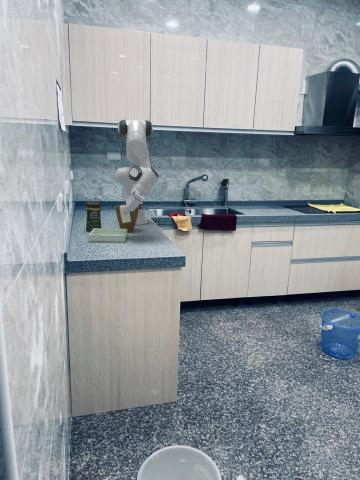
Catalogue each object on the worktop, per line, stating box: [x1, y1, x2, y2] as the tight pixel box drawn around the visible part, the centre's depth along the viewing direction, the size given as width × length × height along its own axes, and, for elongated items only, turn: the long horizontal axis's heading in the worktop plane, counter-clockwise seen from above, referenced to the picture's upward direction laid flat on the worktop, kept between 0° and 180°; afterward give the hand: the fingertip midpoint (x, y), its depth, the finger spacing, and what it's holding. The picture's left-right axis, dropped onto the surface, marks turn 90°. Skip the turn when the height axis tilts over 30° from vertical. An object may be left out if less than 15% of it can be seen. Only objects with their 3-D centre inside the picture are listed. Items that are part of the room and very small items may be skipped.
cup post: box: [120, 204, 131, 223], centre depth 205 cm, size 5×5×9 cm
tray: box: [87, 228, 128, 244], centre depth 206 cm, size 18×20×4 cm
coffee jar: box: [85, 201, 102, 232], centre depth 224 cm, size 10×8×19 cm
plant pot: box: [114, 204, 139, 233], centre depth 226 cm, size 15×15×16 cm
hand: (123, 213), depth 205 cm, fingers closed on cup post, 5 cm apart
